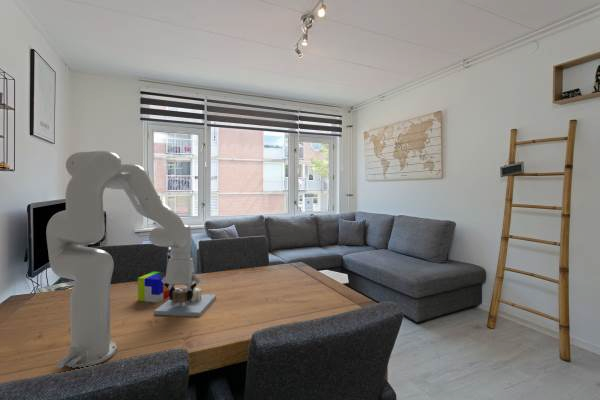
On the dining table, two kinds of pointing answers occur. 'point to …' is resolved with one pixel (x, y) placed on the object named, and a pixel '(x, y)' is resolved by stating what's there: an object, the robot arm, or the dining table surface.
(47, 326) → the dining table surface
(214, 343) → the dining table surface
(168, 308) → the gear board
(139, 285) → the puzzle toy
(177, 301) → the walnut gear
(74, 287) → the robot arm
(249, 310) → the dining table surface
